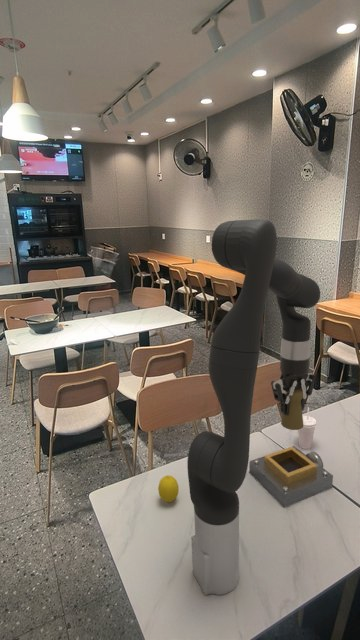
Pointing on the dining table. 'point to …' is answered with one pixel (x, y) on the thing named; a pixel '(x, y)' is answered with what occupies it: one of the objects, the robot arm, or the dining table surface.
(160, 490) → the lemon
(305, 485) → the square socket fixture
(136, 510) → the dining table surface
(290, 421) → the olive pestle shaped cylinder
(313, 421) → the smoothie
